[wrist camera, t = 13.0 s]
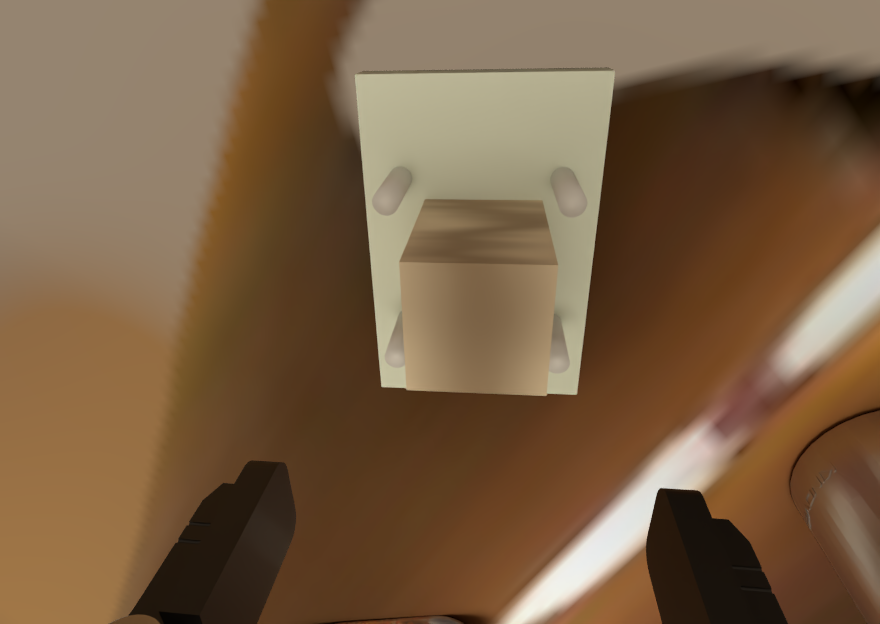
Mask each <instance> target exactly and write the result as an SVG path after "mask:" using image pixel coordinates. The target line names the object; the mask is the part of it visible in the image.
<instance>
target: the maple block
mask: <svg viewBox="0 0 880 624" xmlns="http://www.w3.org/2000/svg"><path fill="white" fill-rule="evenodd" d="M399 269H400V286H401V304H402V321H403V339H404V356H405V373H406V390H417V391H441V392H465V393H489V394H513V395H536V396H547V385H548V374H549V362H550V351H551V340H552V329H553V318H554V307H555V296H556V285H557V274H558V262H557V258H556V254H555V250H554V246H553V242H552V238H551V233H550V229H549V225H548V221H547V217H546V213H545V209H544V205H543V201H542V200H456V199H425V201H424V203H423V205H422V208H421V210H420V213H419V215H418V218H417V220H416V222H415V225H414V227H413V230H412V232H411V235H410V237H409V239H408V242H407V244H406V247H405V249H404V251H403V254H402V256H401V259H400V261H399Z"/></svg>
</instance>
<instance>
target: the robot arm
mask: <svg viewBox="0 0 880 624" xmlns="http://www.w3.org/2000/svg"><path fill="white" fill-rule="evenodd" d="M790 487H791V496H792V499H793V501H794V503H795V505H796V508H797V509H798V511H799V512H800V514H801V516H802V517H803V519H804V521H805V522H806V524H807V526H808V527H809V529H810V530H811V532H812V534H813V535H814V537H815V539H816V540H817V542H818V543H819V545H820V547H821V548H822V550H823V552H824V553H825V555H826V557H827V558H828V560H829V561H830V563H831V565H832V567H833V569H834V570H835V572H836V573H837V575H838V577H839V578H840V580H841V582H842V583H843V585H844V586H845V588H846V590H847V591H848V593H849V595H850V596H851V598H852V599H853V601H854V603H855V604H856V606H857V608H858V609H859V611H860V612H861V614H862V616H863V617H864V619H865V621H866V622H867V624H880V411H876V412H872V413H868V414H864V415H861V416H859V417H856V418H854V419H851V420H849V421H846V422H844V423H842V424H840V425H838V426H837V427H835V428H833V429H831V430H830V431H828V432H826V433H825V434H824V435H822V436H821V437H820V438H819V439H817V440H816V441H815V442H814V443H812V444H811V445H810V446H809V448H808V449H807V450H806V451H805V452H804V454H803V455H802V456H801V457H800V459H799V461H798V462H797V464H796V466H795V468H794V470H793V473H792V478H791V482H790ZM189 522H190V523H189V526H186V528H185V529H184V531H183V532H182V534H181V535H180V537H179V538H178V539H179V540H178V543H175V545H174V546H173V548H172V549H171V551H170V553H169V554H168V556H167V557H166V559H165V560H164V562H163V563H162V565H161V567H160V568H159V570H158V571H157V573H156V574H155V576H154V578H153V579H152V581H151V582H150V584H149V585H148V587H147V588H146V590H145V592H144V593H143V595H142V596H141V598H140V599H139V601H138V603H137V604H136V606H135V607H134V609H133V610H132V611H131V613H130V614H129V615H128V616H126V617H123V618H120V619H118V620H115V621H113V622H112V623H110V624H257V622H258V620H259V617H260V615H261V612H262V610H263V608H264V605H265V603H266V601H267V598H268V596H269V593H270V591H271V589H272V586H273V584H274V581H275V579H276V577H277V574H278V572H279V569H280V567H281V565H282V562H283V560H284V557H285V555H286V553H287V550H288V548H289V545H290V543H291V540H292V538H293V534H294V530H295V523H296V511H295V505H294V500H293V495H292V490H291V485H290V480H289V475H288V470H287V466H286V464H285V463H282V462H267V461H249V462H248V463H247V464H246V465H245V467H244V468H243V470H242V472H241V473H240V475H239V477H238V479H237V480H236V482H235V484H228V483H223V484H222V485H220V486H219V487H218V488H217V489H216V490H215V491H213V492H212V493H211V494H210V495H209V496H208V497H206V498H205V499H204V500H203V501H202V502H201V504H200V506H199V507H198V509H197V510H196V512H195V513H194V515H193V517H192V518H191V520H190V521H189ZM646 556H647V565H648V570H649V574H650V578H651V582H652V586H653V590H654V593H655V597H656V601H657V605H658V609H659V613H660V616H661V620H662V624H788V623H787V620H786V618H785V616H784V614H783V612H782V610H781V608H780V606H779V603H778V601H777V599H776V597H775V595H774V594H772V592H771V586H770V584H769V582H768V580H767V578H766V576H765V574H764V572H762V570H761V568H762V567H761V565H760V563H759V561H758V559H757V557H756V554H755V552H754V550H753V548H752V546H751V544H750V542H749V541H748V540H747V539H746V538H745V537H744V536H743V534H742V533H741V532H740V531H739V530H738V529H737V528H736V527H735V526H734V525H733V524H732V523H731V522H730V521H729V520H727V519H712V517H711V514H710V512H709V510H708V507H707V505H706V502H705V500H704V498H703V496H702V494H701V493H700V492H699V491H696V490H680V489H665V488H660V489H659V490H658V492H657V496H656V500H655V505H654V509H653V514H652V518H651V523H650V527H649V531H648V536H647V543H646Z"/></svg>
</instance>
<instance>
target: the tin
mask: <svg viewBox="0 0 880 624" xmlns="http://www.w3.org/2000/svg"><path fill="white" fill-rule="evenodd" d="M336 624H464V623H462V622H460V621H459V620H456V619H454V618H451V617H447V616H441V615H433V616H420V617H407V618H396V619H383V620H368V621H353V622H342V623H336Z"/></svg>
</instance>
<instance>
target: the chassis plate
mask: <svg viewBox="0 0 880 624" xmlns="http://www.w3.org/2000/svg"><path fill="white" fill-rule="evenodd" d="M614 78H615V70H613V69H610V68H554V69H488V70H487V69H485V70H417V71H362V72H360V73H357V74H355V84H356V96H357V107H358V119H359V131H360V142H361V154H362V166H363V177H364V189H365V201H366V212H367V224H368V235H369V247H370V259H371V270H372V282H373V294H374V305H375V317H376V329H377V340H378V352H379V363H380V375H381V387H396V388H406V373H405V356H404V339H403V321H402V304H401V286H400V269H399V261H400V259H401V256H402V254H403V251H404V249H405V247H406V244H407V242H408V239H409V237H410V235H411V232H412V230H413V227H414V225H415V222H416V220H417V218H418V215H419V213H420V210H421V208H422V205H423V203H424V201H425V199H456V200H542V201H543V205H544V209H545V213H546V217H547V221H548V225H549V229H550V233H551V238H552V242H553V246H554V250H555V254H556V258H557V262H558V274H557V285H556V296H555V307H554V318H553V329H552V340H551V351H550V362H549V374H548V385H547V393H548V394H573V395H577V388H578V380H579V372H580V363H581V355H582V346H583V338H584V330H585V321H586V313H587V304H588V296H589V288H590V279H591V271H592V262H593V254H594V246H595V237H596V229H597V220H598V212H599V204H600V195H601V187H602V179H603V170H604V162H605V153H606V145H607V137H608V128H609V120H610V111H611V103H612V95H613V86H614Z"/></svg>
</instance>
